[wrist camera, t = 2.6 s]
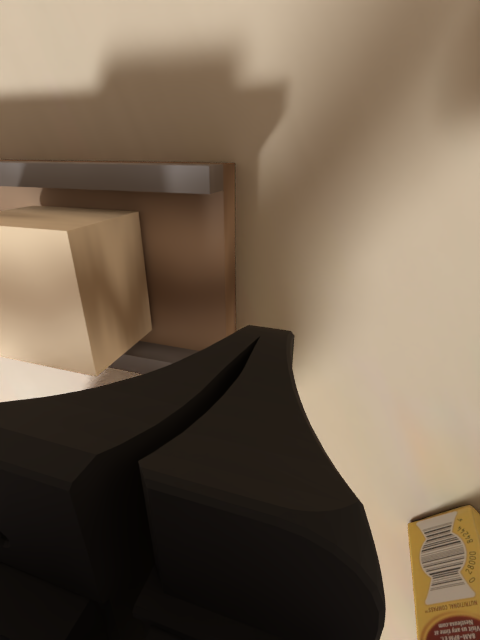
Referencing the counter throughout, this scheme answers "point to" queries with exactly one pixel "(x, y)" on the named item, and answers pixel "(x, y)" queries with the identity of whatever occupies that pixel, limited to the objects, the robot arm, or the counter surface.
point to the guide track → (154, 240)
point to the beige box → (71, 286)
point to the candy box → (446, 574)
